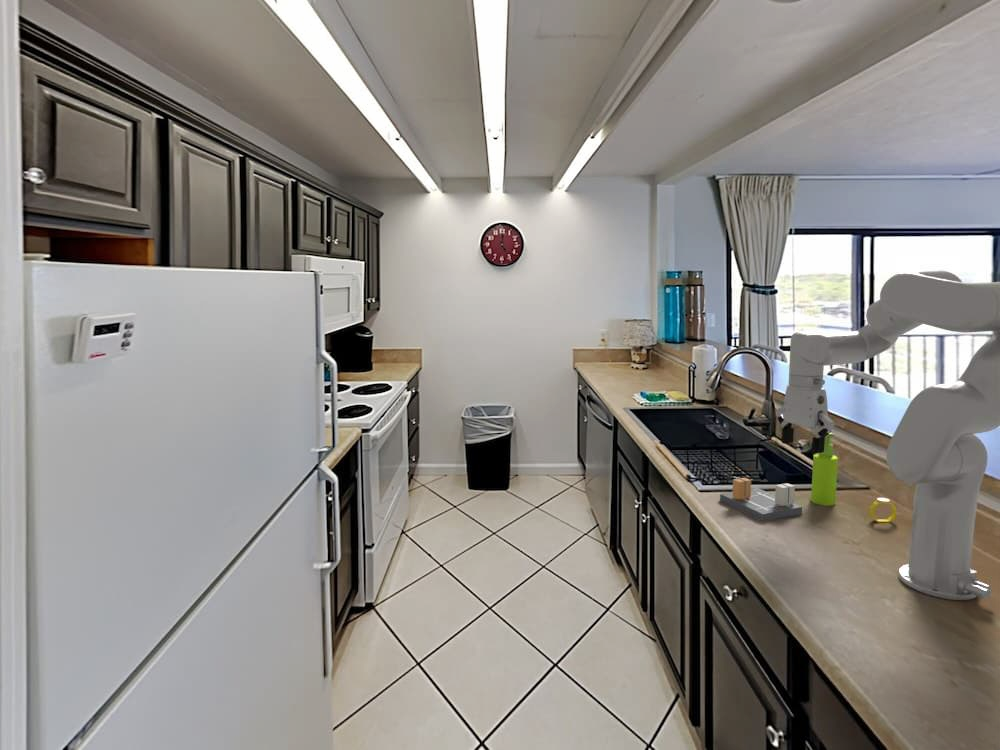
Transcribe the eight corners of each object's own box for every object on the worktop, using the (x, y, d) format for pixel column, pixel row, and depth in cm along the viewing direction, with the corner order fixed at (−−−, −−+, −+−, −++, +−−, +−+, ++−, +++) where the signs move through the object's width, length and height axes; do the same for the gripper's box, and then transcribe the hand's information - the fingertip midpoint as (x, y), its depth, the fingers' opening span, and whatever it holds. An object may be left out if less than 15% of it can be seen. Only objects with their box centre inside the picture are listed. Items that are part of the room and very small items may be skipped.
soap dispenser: (827, 496, 159) (831, 428, 156) (839, 505, 152) (843, 434, 149) (805, 496, 160) (809, 428, 157) (816, 505, 153) (820, 434, 150)
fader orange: (750, 497, 154) (751, 479, 153) (738, 499, 152) (739, 481, 152) (744, 494, 156) (744, 477, 155) (732, 496, 155) (732, 479, 154)
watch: (873, 524, 140) (873, 502, 139) (867, 520, 143) (867, 498, 142) (898, 523, 140) (898, 500, 139) (891, 518, 142) (891, 496, 142)
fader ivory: (794, 504, 148) (794, 485, 148) (782, 506, 147) (783, 487, 146) (786, 500, 151) (787, 482, 150) (774, 503, 149) (775, 484, 149)
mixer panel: (802, 514, 147) (802, 506, 147) (762, 521, 143) (762, 513, 143) (756, 494, 162) (757, 487, 162) (720, 500, 158) (720, 493, 158)
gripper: (847, 385, 132) (843, 455, 135) (790, 375, 149) (787, 438, 151) (822, 387, 130) (818, 458, 133) (767, 377, 147) (765, 440, 149)
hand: (802, 447), depth 142 cm, fingers open, 9 cm apart
